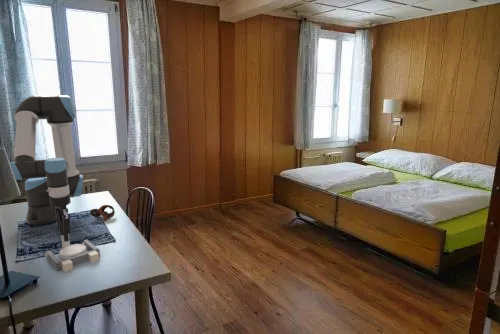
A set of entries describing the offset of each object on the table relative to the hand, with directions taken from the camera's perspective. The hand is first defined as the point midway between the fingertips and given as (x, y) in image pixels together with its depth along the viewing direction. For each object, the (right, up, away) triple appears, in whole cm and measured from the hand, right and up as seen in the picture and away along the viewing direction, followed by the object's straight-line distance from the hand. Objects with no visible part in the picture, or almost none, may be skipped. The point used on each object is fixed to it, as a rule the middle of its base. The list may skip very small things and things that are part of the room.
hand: (66, 247), depth 145 cm
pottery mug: (+1, +7, +35) cm, 36 cm away
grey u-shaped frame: (+7, -3, -6) cm, 10 cm away
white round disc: (+6, -3, -5) cm, 8 cm away
